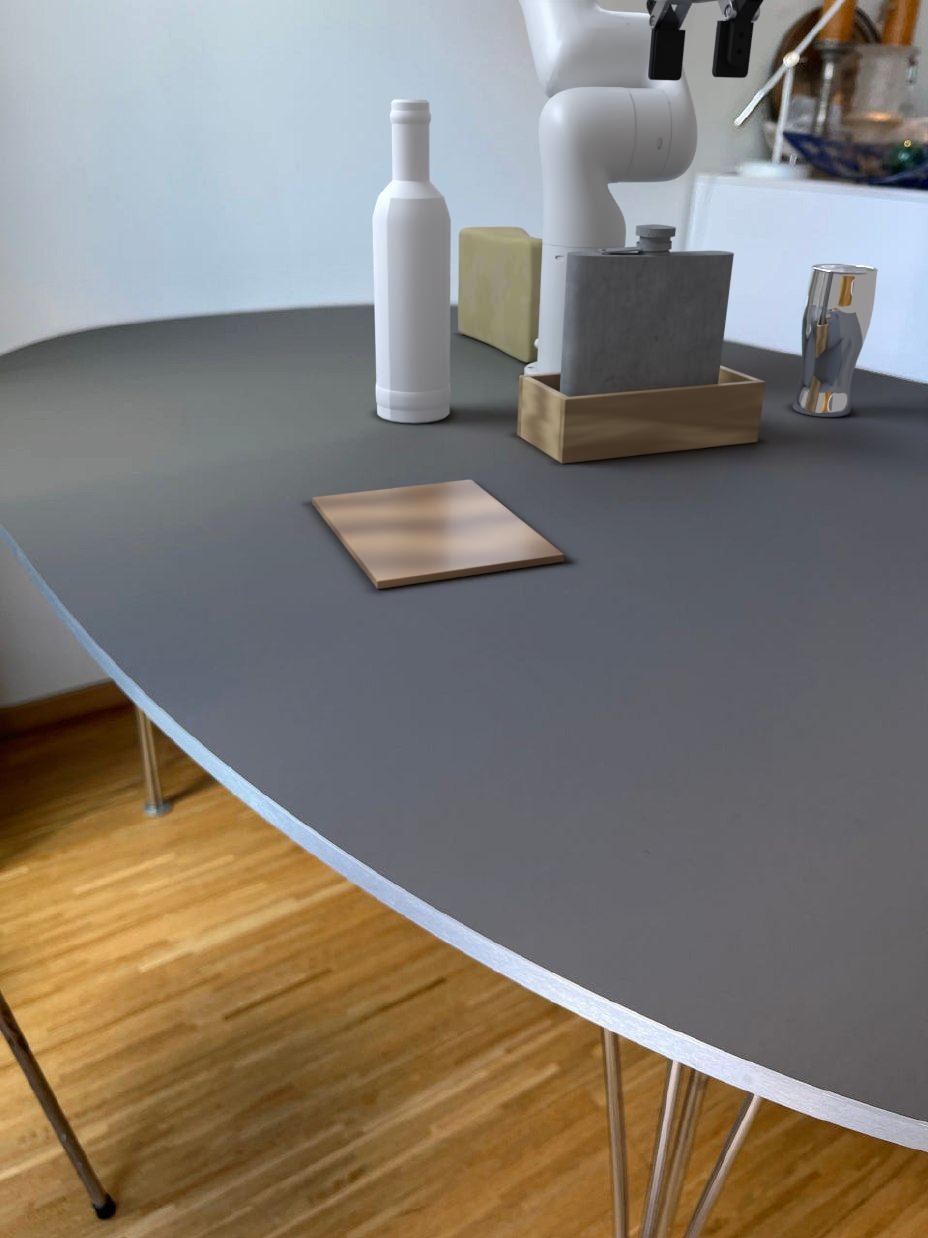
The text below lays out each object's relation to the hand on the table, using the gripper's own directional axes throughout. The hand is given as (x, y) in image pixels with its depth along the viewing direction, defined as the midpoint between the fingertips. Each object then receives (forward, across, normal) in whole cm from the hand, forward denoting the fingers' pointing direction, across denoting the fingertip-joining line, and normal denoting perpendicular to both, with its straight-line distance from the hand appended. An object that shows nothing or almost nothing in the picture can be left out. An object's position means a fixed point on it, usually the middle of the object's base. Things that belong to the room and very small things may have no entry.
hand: (695, 78), depth 89 cm
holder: (+32, -1, -2) cm, 32 cm away
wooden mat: (+32, +16, -31) cm, 47 cm away
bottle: (+32, -17, -20) cm, 41 cm away
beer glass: (+32, -3, +23) cm, 39 cm away
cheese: (+32, -46, +5) cm, 56 cm away
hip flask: (+32, -1, -2) cm, 32 cm away
